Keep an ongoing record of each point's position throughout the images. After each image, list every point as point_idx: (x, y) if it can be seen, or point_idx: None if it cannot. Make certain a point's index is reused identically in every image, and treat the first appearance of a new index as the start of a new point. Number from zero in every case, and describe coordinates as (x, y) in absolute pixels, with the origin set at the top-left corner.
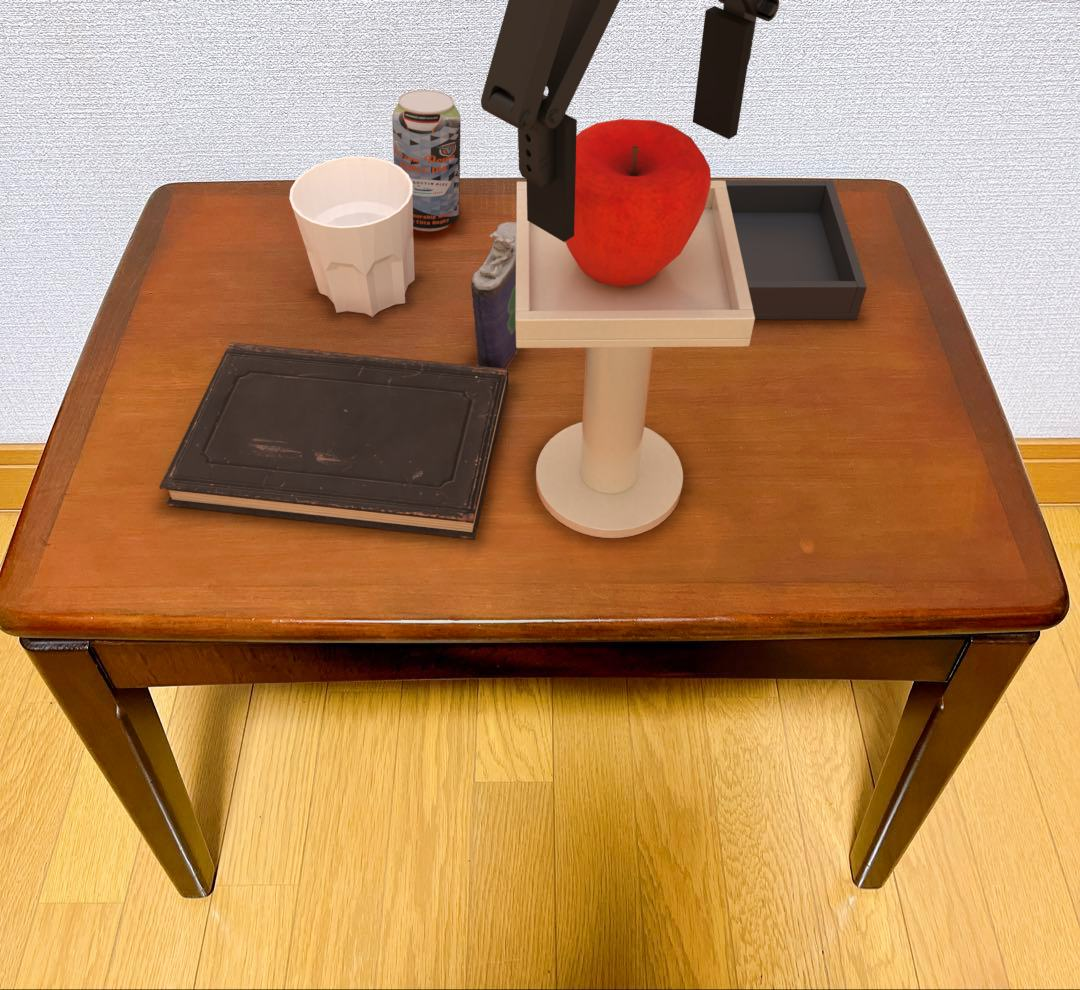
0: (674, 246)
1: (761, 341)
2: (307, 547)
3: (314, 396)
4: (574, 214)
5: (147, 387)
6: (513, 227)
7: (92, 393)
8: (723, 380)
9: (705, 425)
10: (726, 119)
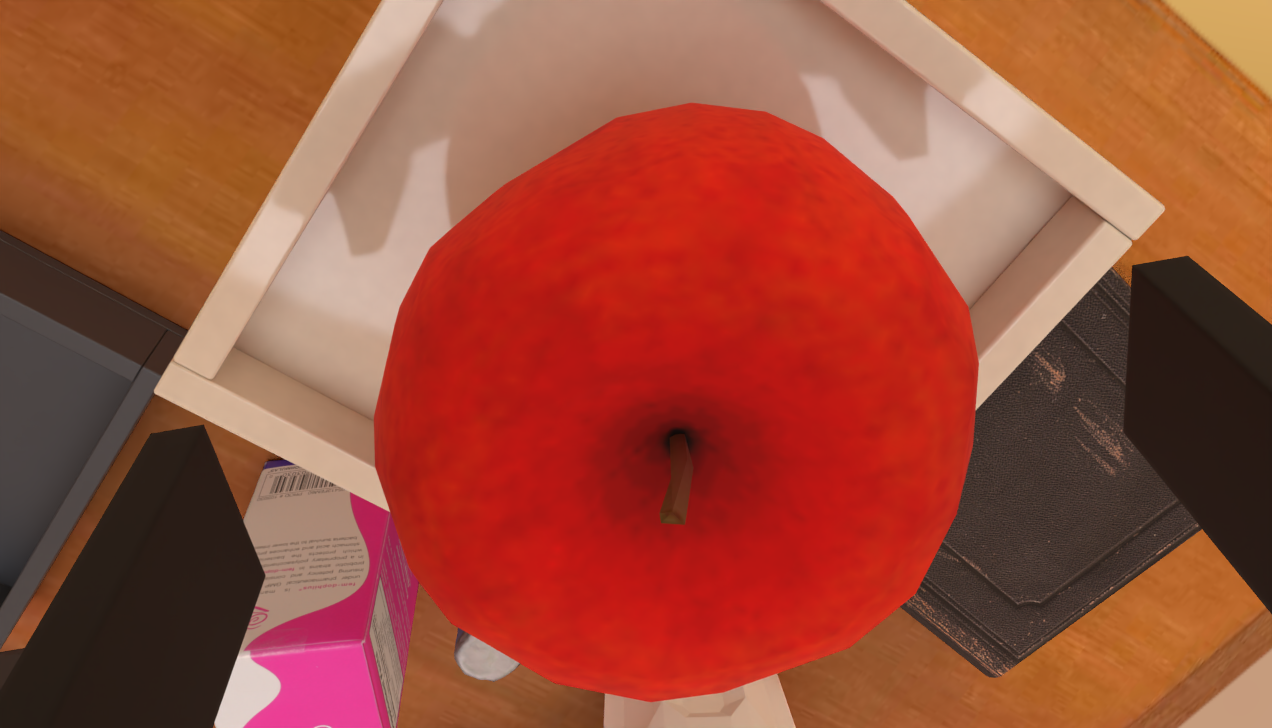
0: (703, 105)
1: (44, 177)
2: (1160, 233)
3: (970, 506)
4: (1176, 308)
5: (1121, 662)
6: (477, 659)
7: (1191, 689)
8: (203, 130)
9: (324, 43)
10: (189, 492)
